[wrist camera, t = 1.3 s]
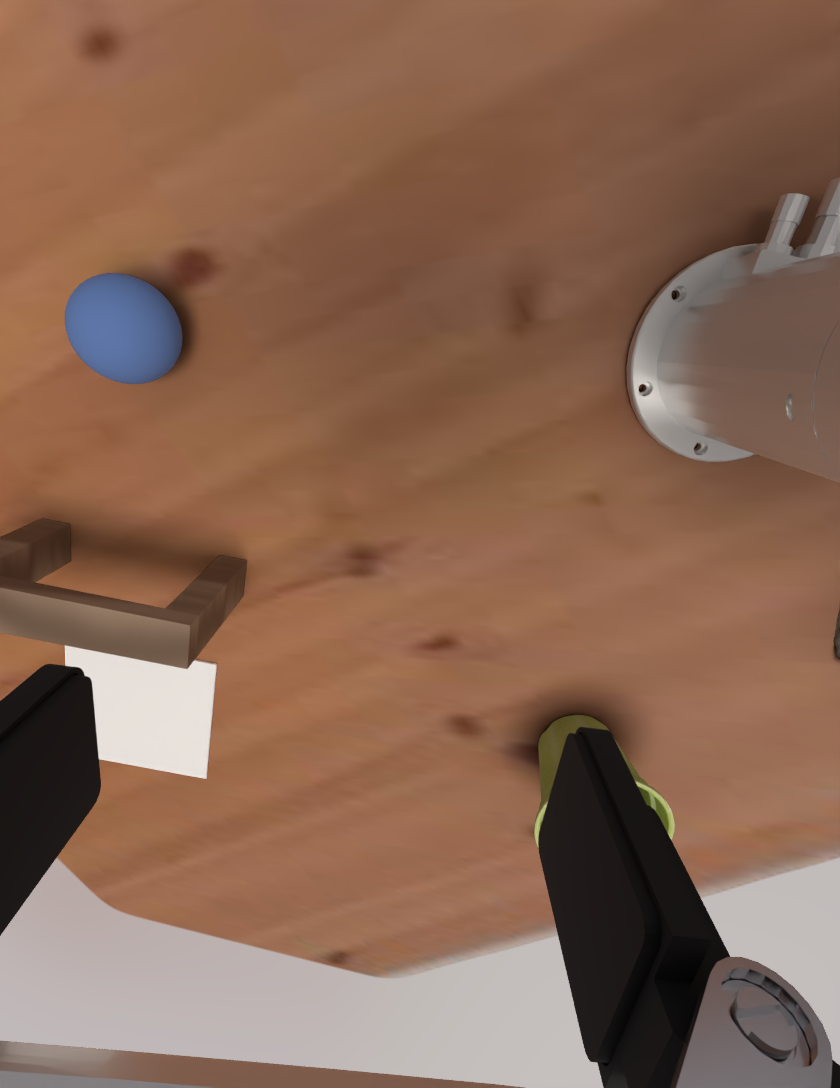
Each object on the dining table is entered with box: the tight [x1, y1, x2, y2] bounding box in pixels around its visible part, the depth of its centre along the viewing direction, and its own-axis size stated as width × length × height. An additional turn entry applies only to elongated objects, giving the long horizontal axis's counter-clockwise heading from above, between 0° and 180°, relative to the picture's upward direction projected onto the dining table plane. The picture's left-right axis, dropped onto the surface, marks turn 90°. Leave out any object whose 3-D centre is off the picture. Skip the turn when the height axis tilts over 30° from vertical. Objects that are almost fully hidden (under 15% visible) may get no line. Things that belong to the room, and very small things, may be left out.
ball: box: [65, 273, 182, 384], centre depth 31 cm, size 6×6×6 cm
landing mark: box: [65, 645, 217, 779], centre depth 44 cm, size 12×12×1 cm
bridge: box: [0, 518, 247, 669], centre depth 35 cm, size 3×15×10 cm, turn 78°
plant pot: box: [534, 715, 674, 848], centre depth 40 cm, size 9×9×9 cm
